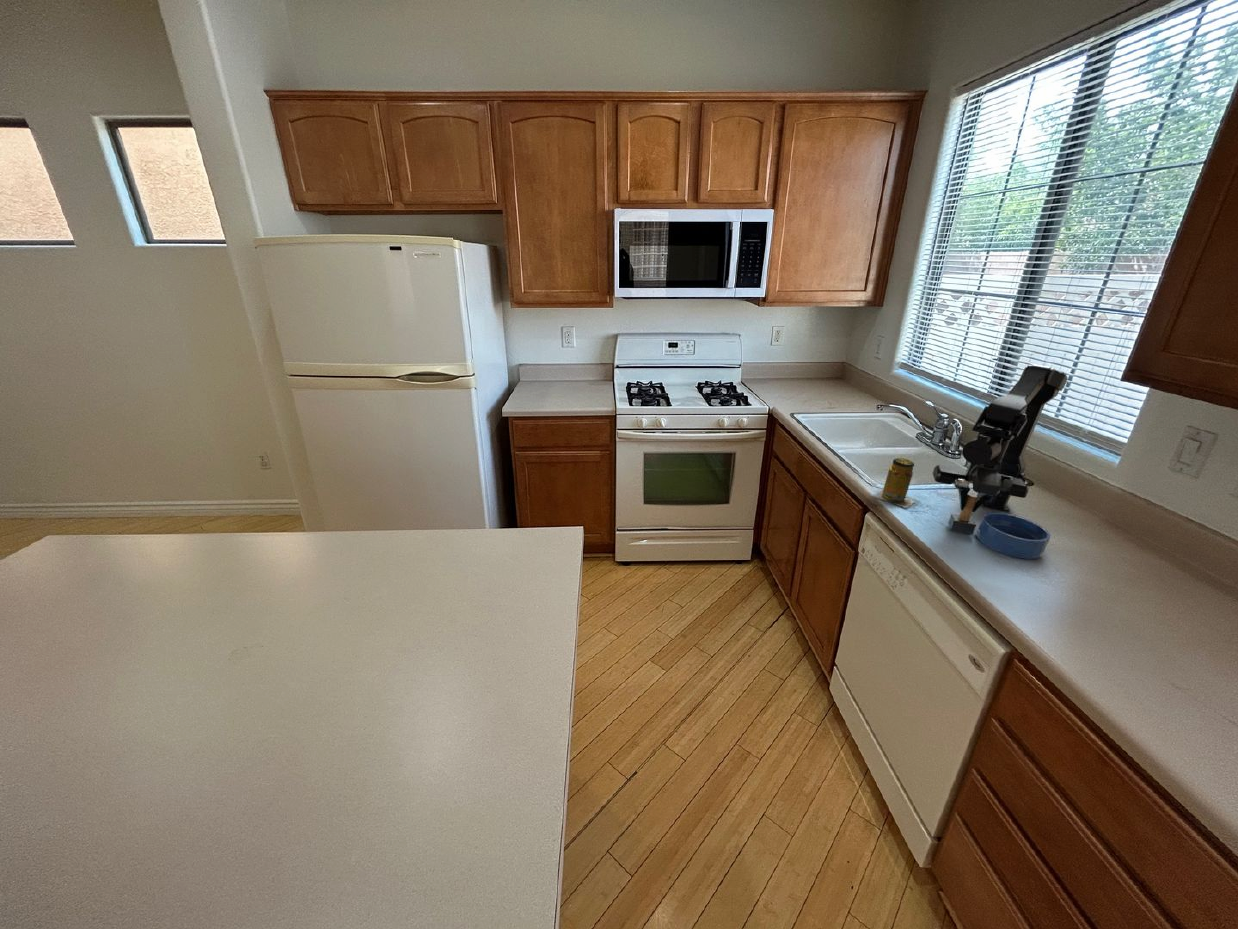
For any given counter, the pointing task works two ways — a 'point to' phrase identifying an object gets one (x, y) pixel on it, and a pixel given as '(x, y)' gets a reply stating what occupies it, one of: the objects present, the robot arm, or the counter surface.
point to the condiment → (898, 483)
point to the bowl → (1013, 535)
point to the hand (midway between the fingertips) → (967, 510)
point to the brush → (964, 517)
